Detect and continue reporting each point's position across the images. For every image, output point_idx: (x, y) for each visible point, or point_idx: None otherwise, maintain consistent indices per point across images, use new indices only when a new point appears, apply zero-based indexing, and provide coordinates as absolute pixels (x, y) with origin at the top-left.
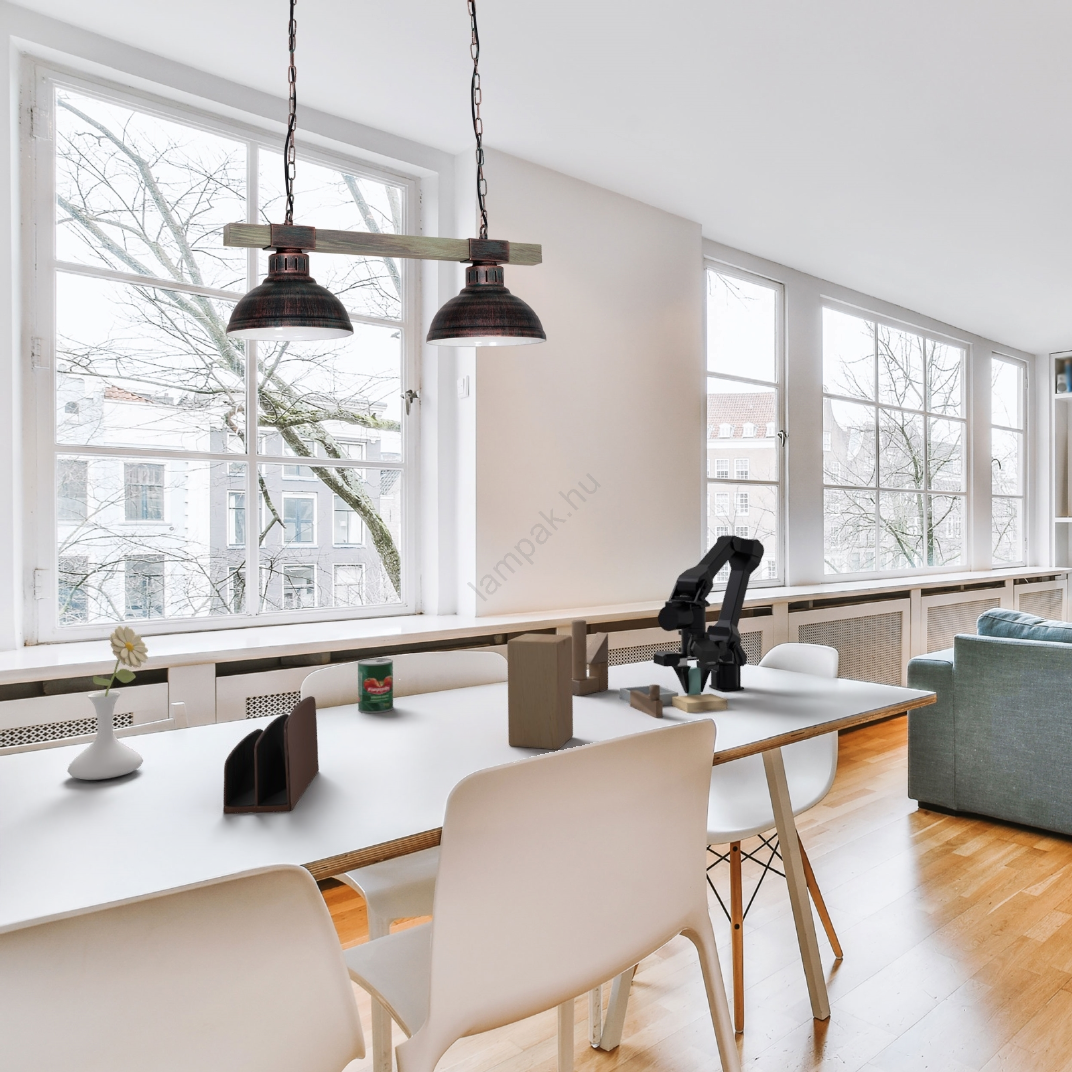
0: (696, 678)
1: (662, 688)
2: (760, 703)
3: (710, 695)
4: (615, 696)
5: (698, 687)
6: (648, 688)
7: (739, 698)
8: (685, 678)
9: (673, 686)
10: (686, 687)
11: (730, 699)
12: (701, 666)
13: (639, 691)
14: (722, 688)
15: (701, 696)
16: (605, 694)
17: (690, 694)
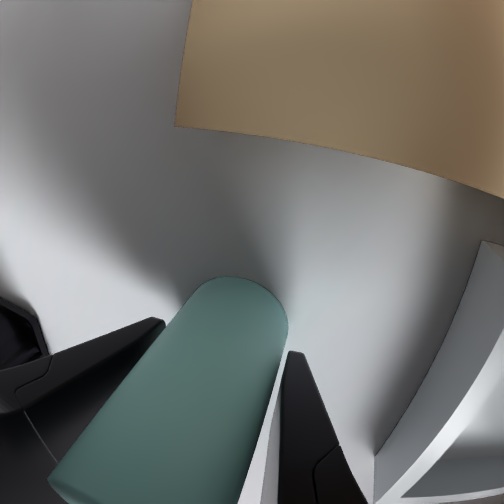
0: (172, 410)
1: (441, 453)
2: (13, 18)
3: (242, 44)
4: None
5: (192, 331)
6: (441, 486)
7: (17, 157)
8: (334, 465)
9: None
10: (313, 386)
11: (55, 154)
12: (29, 485)
13: (482, 472)
14: (28, 337)
15: (379, 52)
16: (486, 497)
17: (277, 333)
